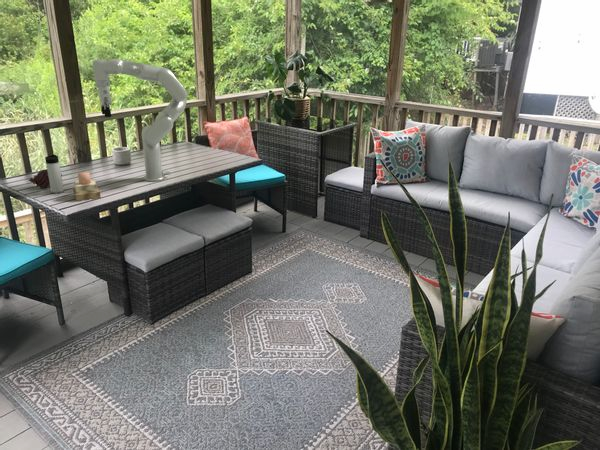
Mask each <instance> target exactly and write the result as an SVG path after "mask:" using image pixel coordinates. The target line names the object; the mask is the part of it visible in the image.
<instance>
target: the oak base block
mask: <svg viewBox="0 0 600 450" xmlns="http://www.w3.org/2000/svg"><path fill="white" fill-rule="evenodd" d="M96 188H97V192H89V193H79V194H76V189H75V187H74V188H72V192H73V196H74V200H75V199H76V200H75V202H82V201H83V200H84V201H90V200H89V199H92V200H98V198H99V199H102V198H101V192H100V189H99V188H98V186H97V185H96ZM84 201H83V202H84Z"/></svg>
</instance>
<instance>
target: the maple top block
mask: <svg viewBox="0 0 600 450" xmlns="http://www.w3.org/2000/svg"><path fill="white" fill-rule="evenodd" d="M90 181H91V183H89V184H79V180H74V188H75V189H76V194H79V193H89V192H97V188H96V186H97V183H96V179H95V178H93V179H91V178H90Z"/></svg>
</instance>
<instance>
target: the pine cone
mask: <svg viewBox="0 0 600 450" xmlns="http://www.w3.org/2000/svg"><path fill="white" fill-rule="evenodd" d="M61 177H62V178H63V174H62V173H61ZM28 181H29V182H30V183H32V184H33V185H36V186H37V187H39V188H45V189H46V188H47V187H48V186H50V183H49V177H48V172H47V169H42V170H39V172H38V173H36V175H35V174H34V175H33V177H30V178H29V179H28Z"/></svg>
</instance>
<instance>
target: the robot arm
mask: <svg viewBox="0 0 600 450" xmlns="http://www.w3.org/2000/svg"><path fill="white" fill-rule="evenodd" d="M92 68H93V70H92V71H93V76H94V85H95V87H96V88H97V90H98V99H99V103H100V107H101V114H102V115H104V118H112V111H111V106H112V105H113V104H112V103H113V102H112V97H111V91H110V87H111V81H110V75H119V74H121V75H127V76H131V77H134V78H136V79H138V80H143V81H146V82H147V81H148V82H152V83H159V84H161V85H162V87H163V88H164V89H165V90H166V92H167V93H168V94H169V95H170V97H171V101H170V102H169V103H168V104H167V106H166V107H165V108H164V109H162V111H161V112H160V113H159V114H157V115H156V117H155V119H154V120H155V121H154V122H152V124H151V125H148V124H147V125H145V126H144V127H143V128H142V130H141V139H142V149H143V160H144V161H143V162H144V170H145V175H144V176H143V180H144V181H147V182H159V181H163V180H166V175H171V171H167V170H163V168H162V167H163V165H162V155H161V154H162V153H161V152H162V151H161V143H160V142H161V141H162V140H163V139H164V138H165V137H166V136H167V135H168V134H169V133H170V132H171V131H172V129H173V128H174V122H175V121H176V120H177V119H178V118H179V117H180V116H181V115H182V113H183V112H184V111H185V109H186V106H187V100H188V99H187V98H188V92H187V91H188V90H187V89H185V87H184V86H183V85H182V83H181V82H180V81H179V80H178V78H177V77H176V76H175V74H174V73H173V72H172V70H170V68H167V67H162V66H157V65H151V64H145V63H141V62H133V61H129V60H124V59H119V58H112V59H110V60H106V59H93V61H92Z"/></svg>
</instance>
